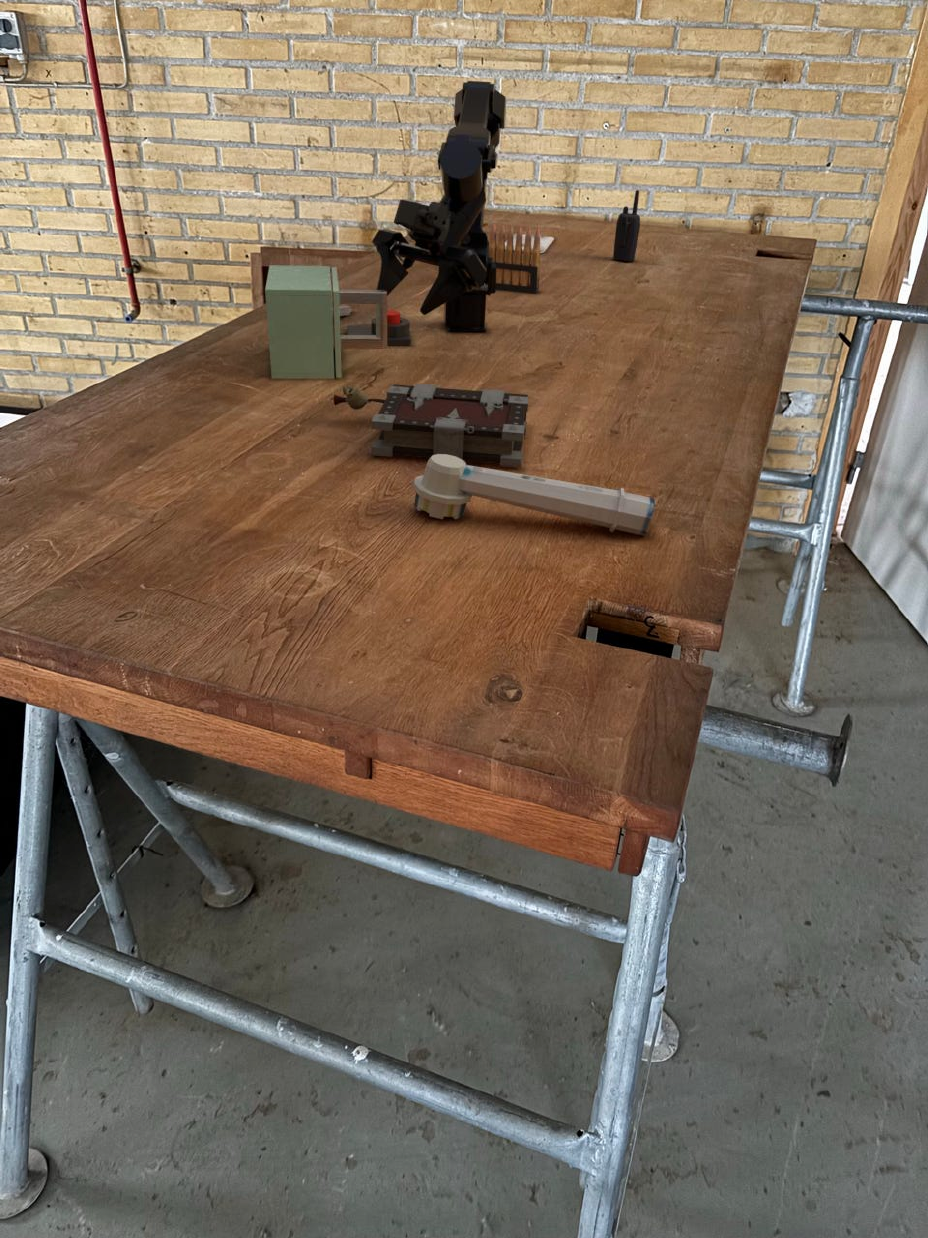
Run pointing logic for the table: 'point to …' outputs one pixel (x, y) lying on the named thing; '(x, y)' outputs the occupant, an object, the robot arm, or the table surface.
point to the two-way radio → (627, 233)
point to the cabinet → (300, 322)
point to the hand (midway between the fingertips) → (399, 306)
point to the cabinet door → (358, 340)
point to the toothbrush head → (527, 495)
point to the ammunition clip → (515, 261)
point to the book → (447, 422)
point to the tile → (544, 242)
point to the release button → (393, 317)
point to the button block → (395, 332)
